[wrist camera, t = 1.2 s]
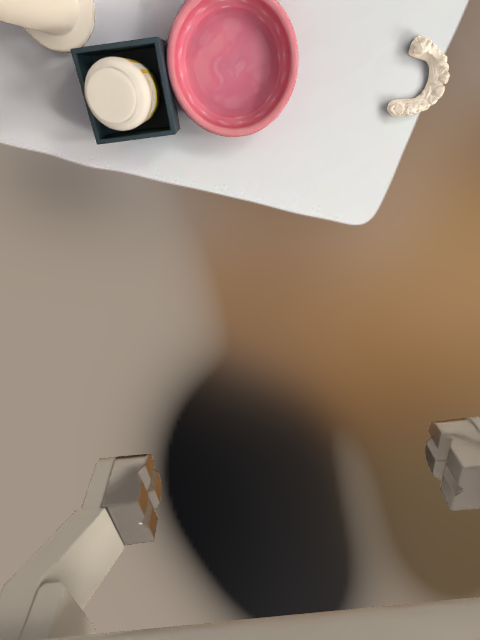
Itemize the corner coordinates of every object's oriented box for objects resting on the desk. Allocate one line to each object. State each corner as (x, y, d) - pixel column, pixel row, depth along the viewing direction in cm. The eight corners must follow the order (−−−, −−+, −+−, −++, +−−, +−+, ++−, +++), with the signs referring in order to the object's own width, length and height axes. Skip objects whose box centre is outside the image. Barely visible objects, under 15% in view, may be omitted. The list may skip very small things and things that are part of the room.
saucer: (168, -21, 36) (163, -28, 34) (302, -9, 37) (308, -15, 34) (171, 129, 43) (168, 133, 40) (285, 137, 43) (289, 141, 41)
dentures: (423, 125, 43) (429, 127, 42) (382, 113, 42) (387, 114, 41) (457, 48, 40) (465, 48, 39) (413, 33, 39) (420, 32, 38)
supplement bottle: (95, 92, 40) (60, 96, 32) (128, 45, 38) (101, 35, 30) (140, 134, 43) (118, 149, 34) (173, 92, 41) (159, 95, 32)
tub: (86, 51, 39) (69, 48, 35) (164, 41, 39) (157, 36, 34) (108, 138, 43) (96, 144, 39) (180, 128, 43) (175, 134, 39)
